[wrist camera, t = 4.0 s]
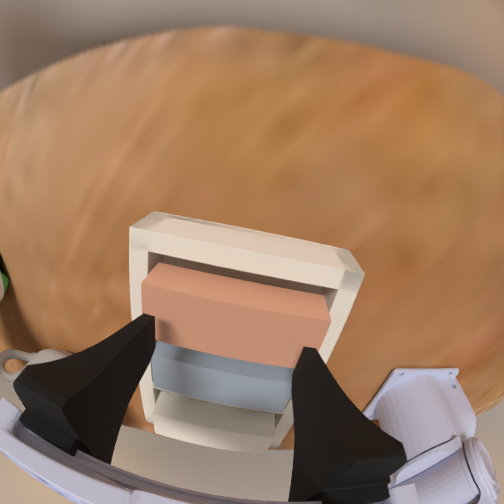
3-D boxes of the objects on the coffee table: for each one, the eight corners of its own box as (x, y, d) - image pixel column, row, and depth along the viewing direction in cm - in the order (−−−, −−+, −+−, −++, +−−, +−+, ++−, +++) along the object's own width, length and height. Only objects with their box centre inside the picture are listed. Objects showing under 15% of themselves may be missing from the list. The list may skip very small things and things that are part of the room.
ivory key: (274, 413, 20) (274, 438, 18) (265, 433, 21) (264, 455, 19) (160, 390, 20) (151, 413, 17) (162, 412, 21) (155, 433, 19)
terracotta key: (323, 295, 15) (331, 321, 13) (306, 342, 17) (309, 370, 14) (158, 262, 15) (141, 282, 13) (157, 312, 17) (143, 336, 14)
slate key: (295, 357, 18) (296, 383, 16) (282, 388, 20) (282, 412, 18) (162, 331, 18) (150, 353, 16) (163, 364, 20) (153, 386, 18)
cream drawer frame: (349, 249, 17) (364, 274, 14) (278, 420, 25) (277, 447, 22) (154, 210, 17) (129, 226, 14) (156, 396, 25) (146, 421, 21)
